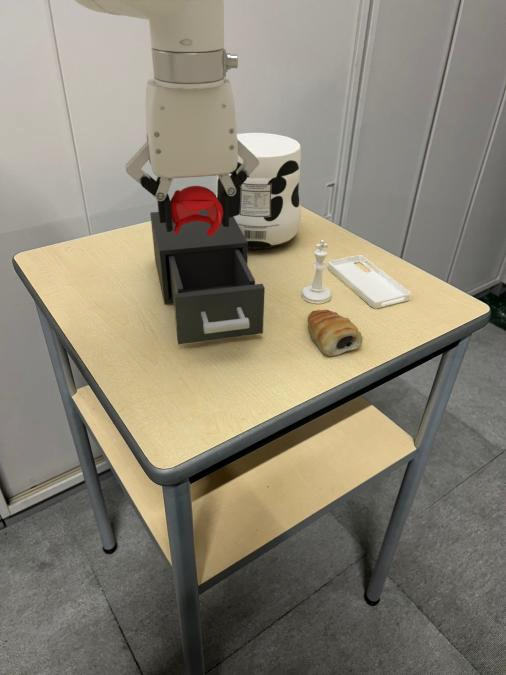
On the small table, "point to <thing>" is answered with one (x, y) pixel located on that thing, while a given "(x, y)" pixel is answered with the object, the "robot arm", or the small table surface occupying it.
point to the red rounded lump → (196, 208)
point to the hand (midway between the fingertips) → (196, 223)
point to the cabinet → (191, 244)
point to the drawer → (214, 296)
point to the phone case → (369, 282)
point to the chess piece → (317, 279)
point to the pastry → (333, 332)
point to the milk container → (269, 191)
